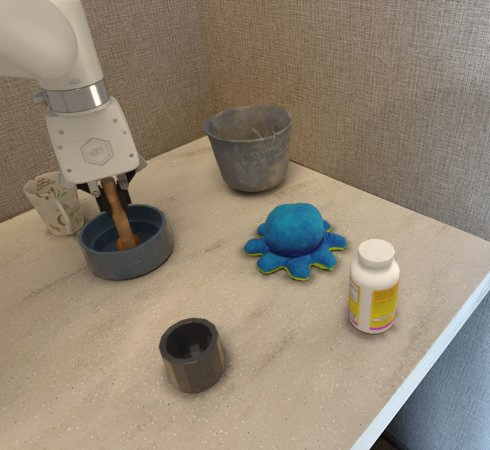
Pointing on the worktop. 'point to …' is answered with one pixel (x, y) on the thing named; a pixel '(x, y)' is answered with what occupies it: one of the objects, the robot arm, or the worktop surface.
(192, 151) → the worktop surface
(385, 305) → the supplement bottle
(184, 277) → the worktop surface
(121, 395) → the worktop surface
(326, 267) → the plush toy
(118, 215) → the stick
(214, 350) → the holder
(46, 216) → the mug
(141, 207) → the mixing bowl
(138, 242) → the bead
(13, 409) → the worktop surface
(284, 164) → the grey bucket
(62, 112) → the robot arm
